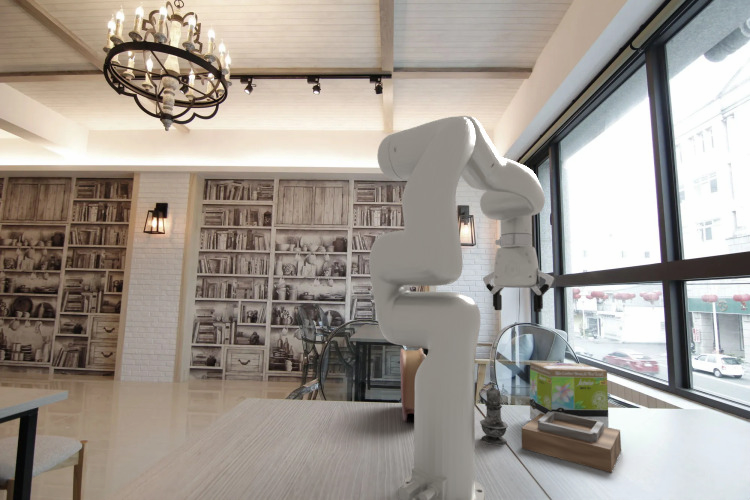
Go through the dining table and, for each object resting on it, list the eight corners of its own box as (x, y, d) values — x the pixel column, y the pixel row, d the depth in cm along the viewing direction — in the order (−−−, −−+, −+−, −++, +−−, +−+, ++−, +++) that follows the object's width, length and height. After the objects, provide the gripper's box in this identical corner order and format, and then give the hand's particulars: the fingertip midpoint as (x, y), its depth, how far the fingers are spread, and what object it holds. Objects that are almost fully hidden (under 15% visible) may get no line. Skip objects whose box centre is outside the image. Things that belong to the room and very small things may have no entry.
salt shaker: (486, 433, 86) (486, 379, 87) (512, 440, 82) (511, 384, 83) (475, 440, 81) (475, 383, 83) (502, 448, 77) (501, 388, 79)
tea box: (552, 433, 87) (550, 368, 89) (529, 419, 97) (528, 361, 99) (610, 432, 89) (607, 369, 91) (582, 419, 99) (580, 361, 100)
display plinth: (611, 472, 68) (610, 440, 68) (521, 448, 78) (521, 420, 78) (621, 449, 78) (619, 422, 79) (541, 430, 88) (540, 406, 89)
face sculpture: (429, 428, 87) (430, 356, 90) (400, 427, 88) (401, 355, 90) (420, 404, 107) (421, 345, 109) (396, 403, 107) (398, 344, 110)
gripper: (477, 243, 97) (477, 309, 95) (548, 238, 86) (550, 312, 84) (489, 247, 103) (489, 309, 100) (556, 242, 92) (558, 312, 89)
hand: (517, 311), depth 92 cm, fingers open, 9 cm apart
